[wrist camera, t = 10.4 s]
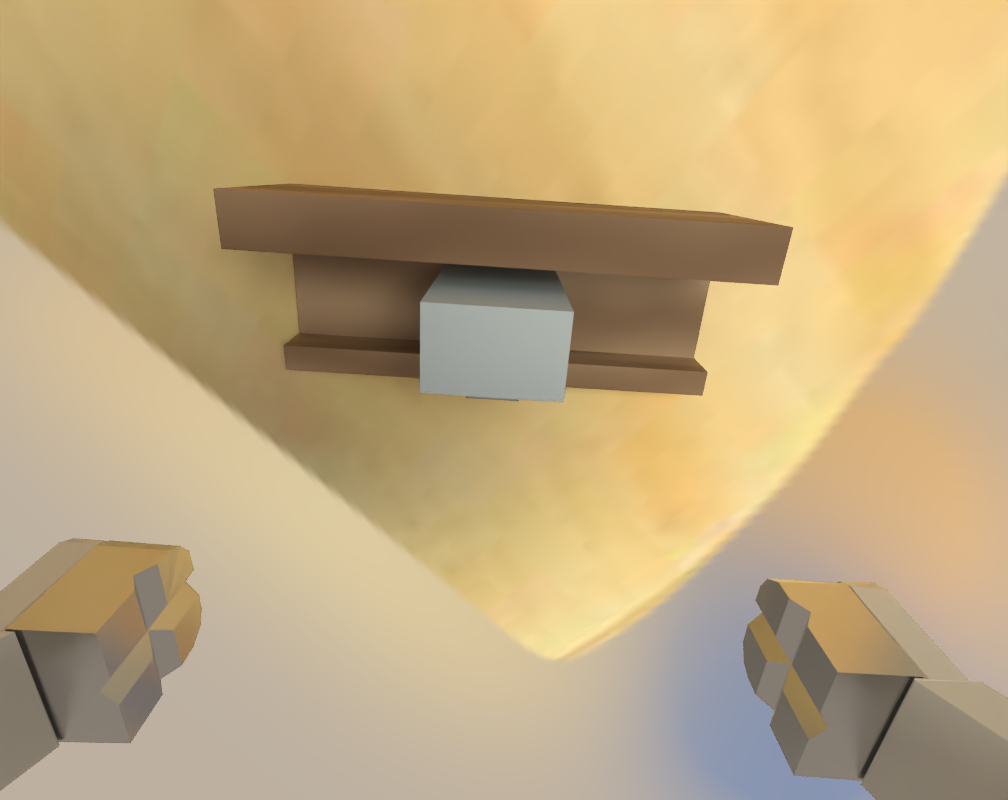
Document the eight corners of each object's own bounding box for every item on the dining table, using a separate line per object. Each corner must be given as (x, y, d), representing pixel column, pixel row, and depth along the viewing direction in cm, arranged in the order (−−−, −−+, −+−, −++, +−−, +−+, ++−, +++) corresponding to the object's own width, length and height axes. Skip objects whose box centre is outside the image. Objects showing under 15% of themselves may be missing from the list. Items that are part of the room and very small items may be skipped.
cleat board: (290, 183, 25) (213, 188, 19) (721, 212, 25) (793, 227, 19) (304, 353, 28) (243, 407, 22) (686, 377, 28) (738, 438, 22)
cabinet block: (449, 259, 26) (420, 301, 18) (553, 266, 26) (573, 312, 18) (447, 338, 27) (419, 411, 19) (545, 344, 27) (561, 420, 19)
